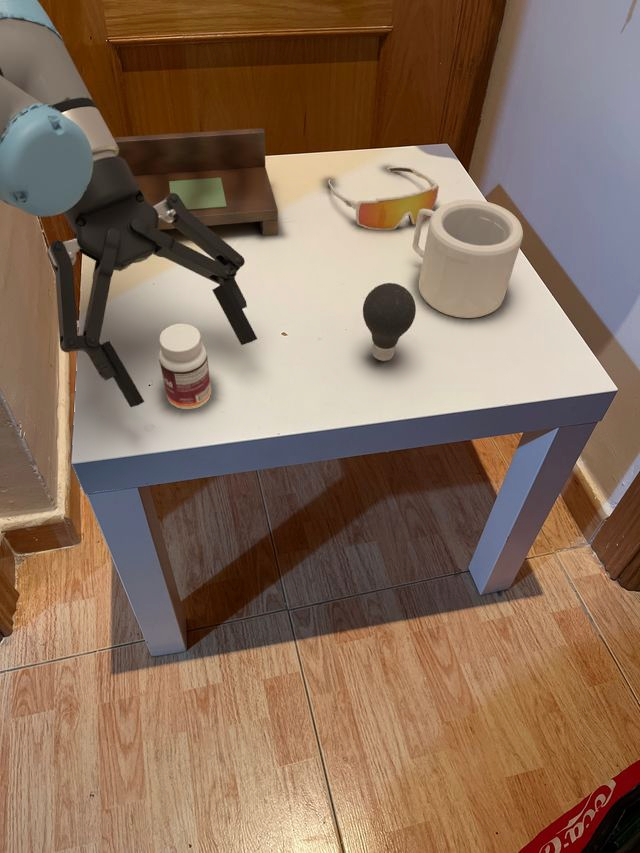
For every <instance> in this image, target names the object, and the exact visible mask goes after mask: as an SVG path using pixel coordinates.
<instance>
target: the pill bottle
mask: <svg viewBox="0 0 640 853" xmlns="http://www.w3.org/2000/svg"><path fill="white" fill-rule="evenodd" d="M202 341H203V340H202V337H201V332H200V331H199V329H198V328H196V327H195V326H193V325H191V324H188V323H175V324H172V325H169V326H167V327H166V328H165V329H163V330H162V331H161V333H160V334H159V341H158V342H159V346H160V347H159V348H160V350H159V352H158V353H159V354H158V362H159V365H160V370H161V374H162V375H161V376H162V380H163V385H164V389H165V394H166V398H167V400H168V402H169V403H170V405H172V406H174V408H177V409H182V410H194V409H198V408H200V407H202V406H204V405H205V404H206V403H207V402H208V401H209V399H210V398H211V394H212V385H211V379H210V378H211V377H210V369H209V361H208V353H207V348H206V346H205V345H204V344H203V343H202Z"/></svg>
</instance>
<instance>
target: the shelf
mask: <svg viewBox="0 0 640 853" xmlns="http://www.w3.org/2000/svg"><path fill="white" fill-rule="evenodd" d="M265 133H266V132H265V129H264V128H263V127H260V128H257V127H256V128H244V129H243V128H242V129H241V128H240V129H230V130H229V129H228V130H227V129H226V130H212V131H197V132H196V131H195V132H180V133H163V134H149V135H134V136H115V137H113V138H114V140H115V142H116V144H117V145H118V147H119V152H118V155H117V156H118V157H121V158H122V159H125V161H126V163H127V165H128V166H129V168H130V170H131V172H132V174H133V176H134V178H135V180H136V181H137V183H138V185H139V187H140V189H141V191H142V194H143V196H144V198H145V200H146V201H147V202H148V203H149V204H150V205H151V206H155V205H157V204H158V203H160V202H162V201H163V200H165V198H166V197H167V196H168V195H169V194H170V193H176V194H177V195H178V196H179V197H180V199H181V200H182V202H183V203H184V205H185V207H186V208H187V210H188V211H189V212H190V213H191V214H192V215H194V216H195V217H196V218H197V219H198V220H200V221H201V222H202V223H203V224H204V225H206V226H207V227H209V226H218V225H231V224H243V223H256V222H259V225H260V228H261V232H262V237H272V236H273V237H274V236H279V210H278V206H277V202H276V198H275V196H274V192H273V189H272V185H271V181H270V178H269V173H268V170H267V167H266V165H267V164H266V135H265ZM171 229H172V230H173V229H176V228H175V227H174V225H173V224H172V223H168V222H166V221H164V219H162V218H159V220H158V230H160V231H162V230H171Z"/></svg>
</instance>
